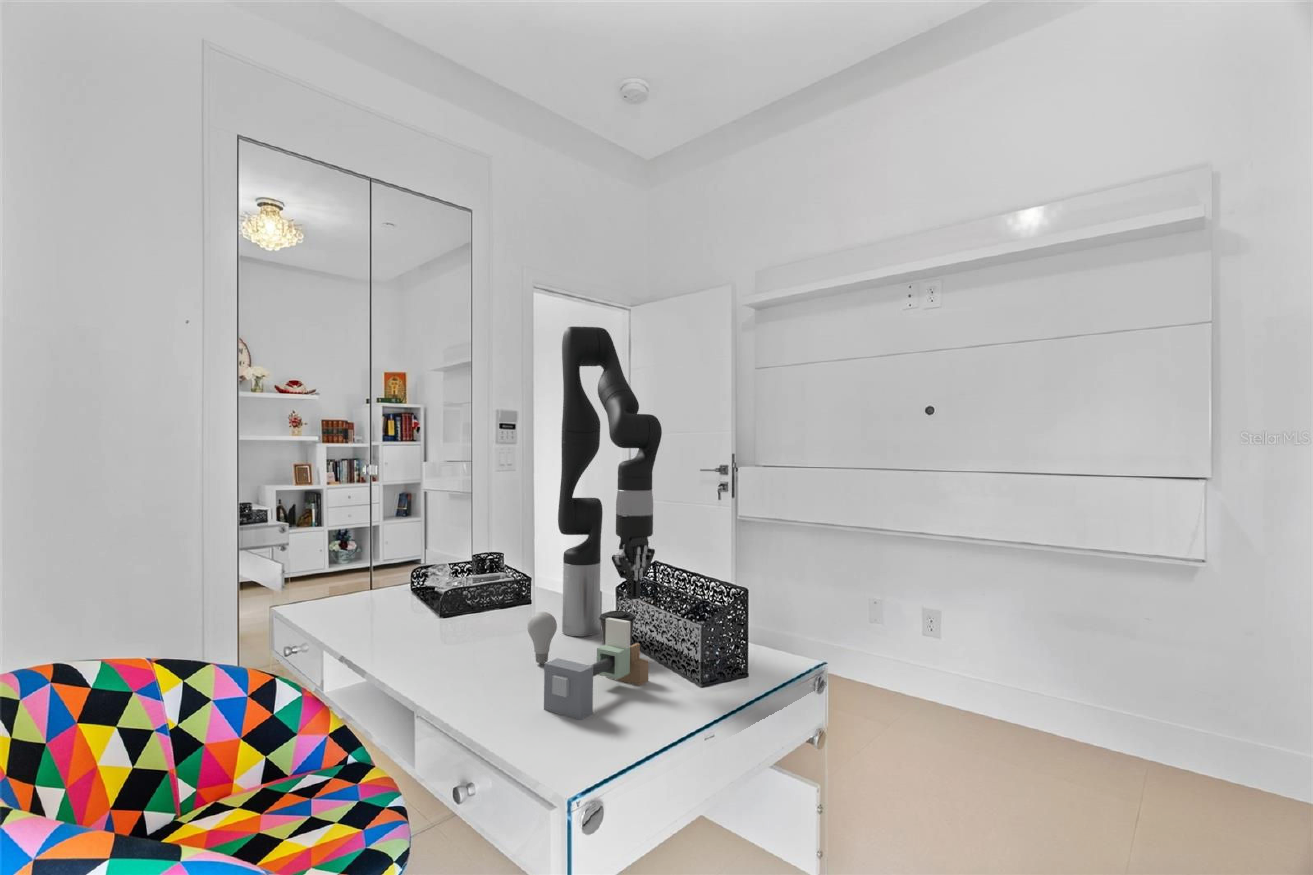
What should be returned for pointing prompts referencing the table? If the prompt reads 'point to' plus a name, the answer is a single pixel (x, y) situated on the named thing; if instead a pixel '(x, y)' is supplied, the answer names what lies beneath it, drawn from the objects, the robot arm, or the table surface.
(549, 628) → the lightbulb
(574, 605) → the robot arm
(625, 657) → the white-faced green block
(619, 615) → the coffee cup
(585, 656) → the table surface
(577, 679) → the rod rig
